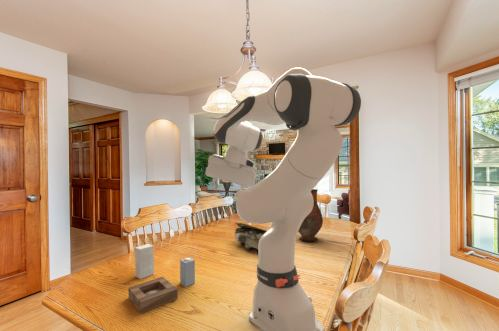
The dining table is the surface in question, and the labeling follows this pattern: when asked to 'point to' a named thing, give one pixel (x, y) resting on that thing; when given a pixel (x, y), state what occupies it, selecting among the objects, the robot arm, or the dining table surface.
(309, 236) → the brown vase
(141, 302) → the socket block
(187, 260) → the post
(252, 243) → the hollow geode rock
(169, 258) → the dining table surface
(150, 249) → the skincare box
